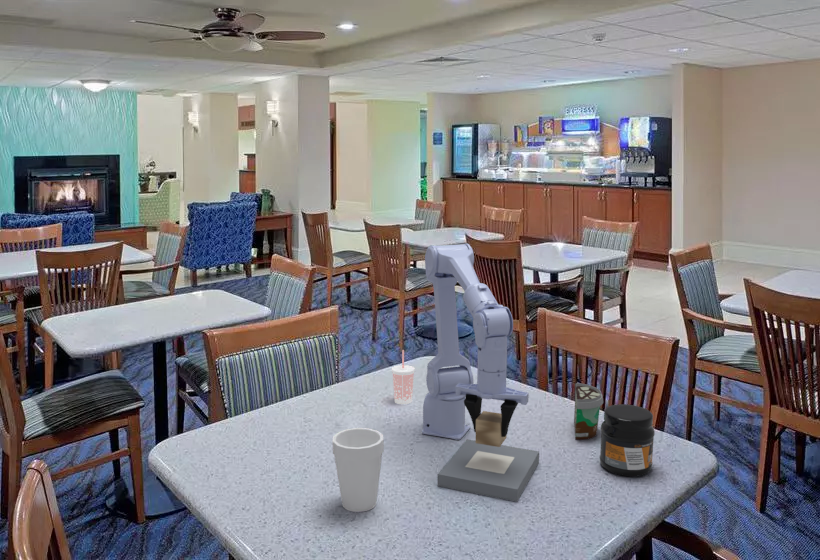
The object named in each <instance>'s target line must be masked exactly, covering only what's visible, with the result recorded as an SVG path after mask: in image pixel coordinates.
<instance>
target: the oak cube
mask: <svg viewBox="0 0 820 560" xmlns="http://www.w3.org/2000/svg"><path fill="white" fill-rule="evenodd" d="M501 427H502V416H501V412H493V411H486V410H483V411H481V414H480V415H479V416H478V418H477V419H476V432H475V441H476V443H478V444H484V445H490V446H496V447H500V446H501V445H503V443H504V442H505V440H506V439H507V436H508V434H507V435H506V436H505V437H501Z"/></svg>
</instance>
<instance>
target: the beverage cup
mask: <svg viewBox="0 0 820 560" xmlns="http://www.w3.org/2000/svg"><path fill="white" fill-rule="evenodd" d="M401 353H402V354H401V358H402V359H401V360H402V363H401V364H399V365H395V366H392V367H391V374H392V382H393V395H394V396H393V397H394V403H395V404H397V405H402V406H404V405H403V404H405V405H409V403H410V404H411V403H413V392H414V379H415V378H414V375H415V372H416V371H415V369H416V368H415V366H411V365H406V364H405V350H404V349H401Z"/></svg>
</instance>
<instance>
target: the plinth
mask: <svg viewBox="0 0 820 560" xmlns="http://www.w3.org/2000/svg"><path fill="white" fill-rule="evenodd" d="M457 449H458V450H456V451H455V453H454V454H453V455H452V456H451V458H449V460H448V461H447V462H446V464H444V466H443V467H442V468H441V469H440V471H438V473H437V477H436V478H437V479H436V481H437V485H436V486H437V487H440V488H446V489H450V490H455V491H462V492H465V493H470V494H471V493H472V494H476V495H482V496H487V497H492V498H496V499H500V500H501V499H502V500H506V501H511V502H518V501H519V499H520V497H521V495H522V494H523V493H524V490H525V488H526V486H527V485H528V483H529V481H530V480H531V478H532V476H533V474H534V472H535V471H536V469H537V467H538V465H539V463H540V450H532V449H528V448H521V447H515V446H509V445H503V444H502V445H501V446H500V447H496V446H490V445H484V444H478V443H476V440H473V439H466V440H465V441H464V442H463V443H462V445H461V446H460V447H459V448H457Z"/></svg>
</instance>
